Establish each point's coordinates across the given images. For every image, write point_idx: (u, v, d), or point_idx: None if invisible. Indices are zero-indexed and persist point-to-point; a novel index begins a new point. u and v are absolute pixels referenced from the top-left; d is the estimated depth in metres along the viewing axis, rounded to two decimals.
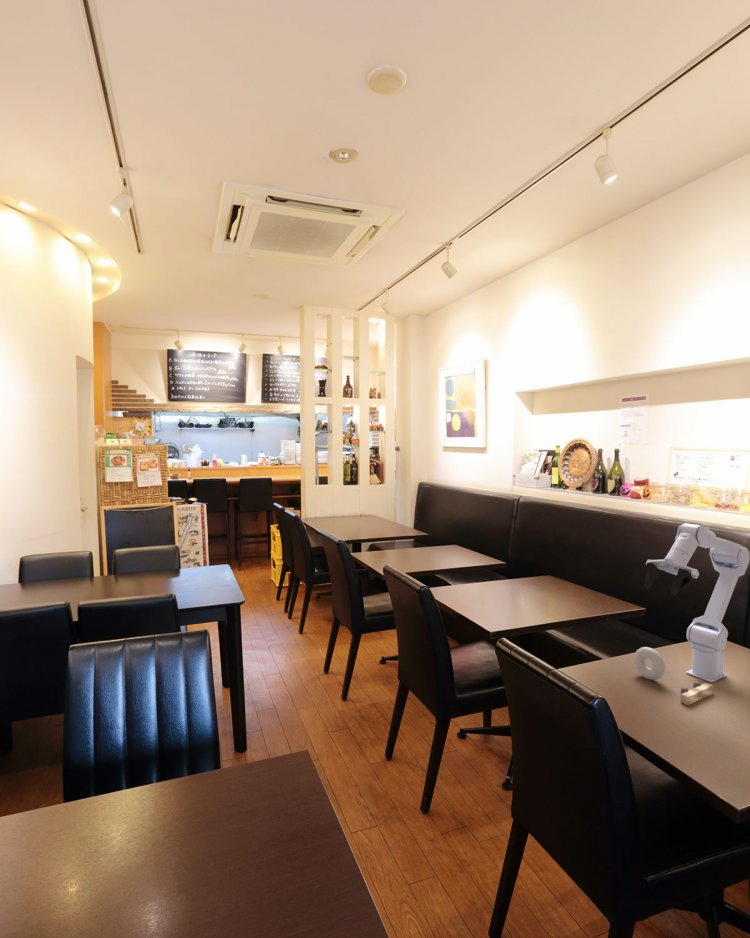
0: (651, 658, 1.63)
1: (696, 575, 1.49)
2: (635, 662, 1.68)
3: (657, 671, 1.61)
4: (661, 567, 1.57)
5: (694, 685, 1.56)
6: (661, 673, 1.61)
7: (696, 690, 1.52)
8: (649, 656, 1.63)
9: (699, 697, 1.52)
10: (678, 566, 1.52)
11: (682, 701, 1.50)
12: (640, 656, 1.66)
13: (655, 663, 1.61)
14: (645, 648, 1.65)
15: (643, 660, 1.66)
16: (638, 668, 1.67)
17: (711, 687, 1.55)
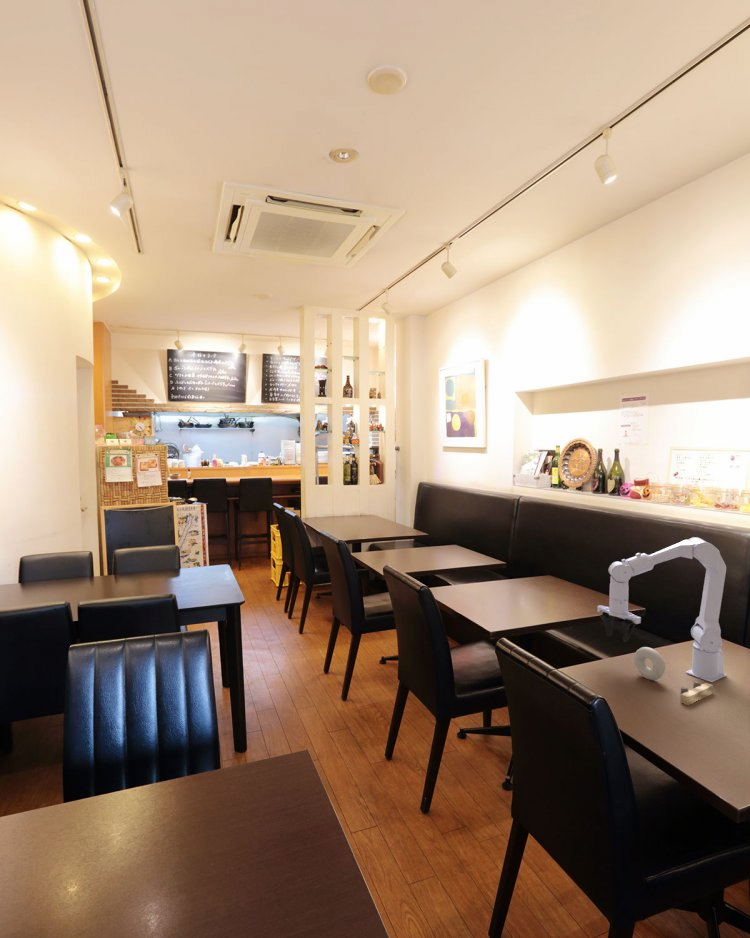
0: (651, 658, 1.63)
1: (639, 621, 1.68)
2: (635, 662, 1.68)
3: (657, 671, 1.61)
4: None
5: (694, 685, 1.56)
6: (661, 673, 1.61)
7: (696, 690, 1.52)
8: (649, 656, 1.63)
9: (699, 697, 1.52)
10: None
11: (682, 701, 1.50)
12: (640, 656, 1.66)
13: (655, 663, 1.61)
14: (645, 648, 1.65)
15: (643, 660, 1.66)
16: (638, 668, 1.67)
17: (711, 687, 1.55)
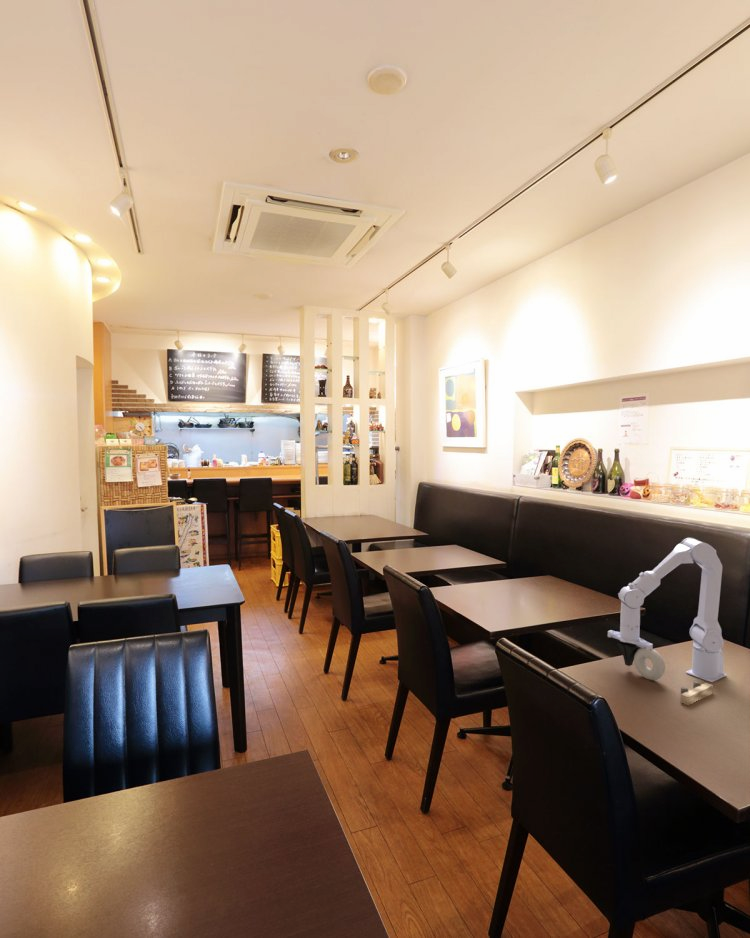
0: (651, 658, 1.63)
1: (651, 648, 1.65)
2: (635, 662, 1.68)
3: (657, 671, 1.61)
4: None
5: (694, 685, 1.56)
6: (661, 673, 1.61)
7: (696, 690, 1.52)
8: (649, 656, 1.63)
9: (699, 697, 1.52)
10: None
11: (682, 701, 1.50)
12: (640, 656, 1.66)
13: (655, 663, 1.61)
14: (645, 648, 1.65)
15: (643, 660, 1.66)
16: (638, 668, 1.67)
17: (711, 687, 1.55)
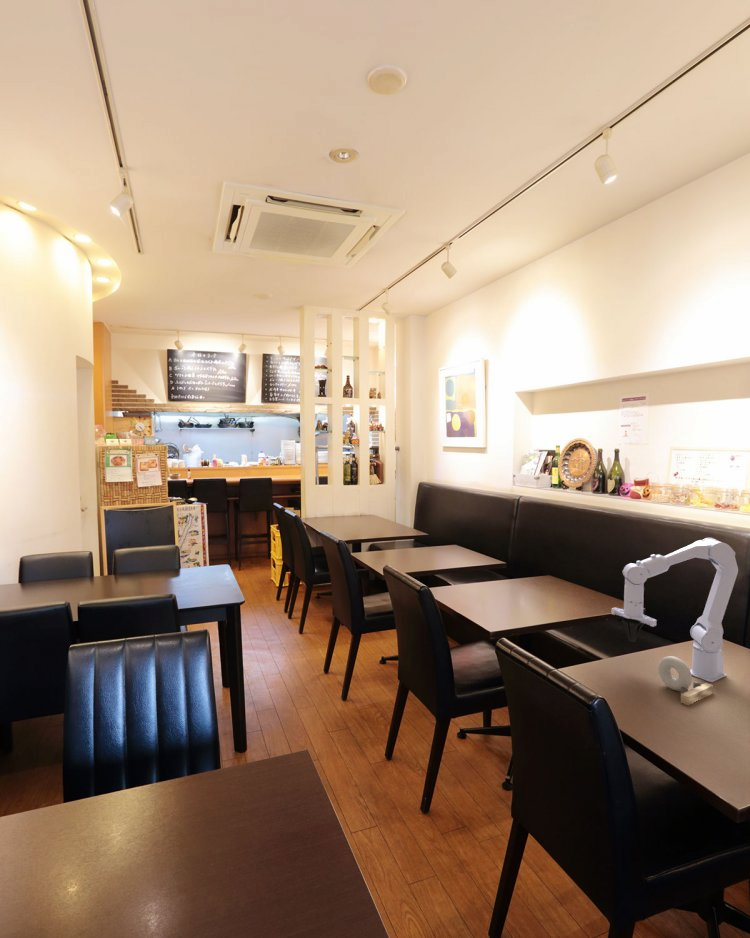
0: (677, 668, 1.56)
1: (654, 624, 1.65)
2: (659, 672, 1.61)
3: (683, 681, 1.54)
4: None
5: (694, 685, 1.56)
6: (687, 684, 1.54)
7: (696, 690, 1.52)
8: (675, 666, 1.56)
9: (699, 697, 1.52)
10: None
11: (682, 701, 1.50)
12: (665, 666, 1.59)
13: (681, 673, 1.54)
14: (670, 657, 1.58)
15: (667, 670, 1.59)
16: (663, 678, 1.60)
17: (711, 687, 1.55)
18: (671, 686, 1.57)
